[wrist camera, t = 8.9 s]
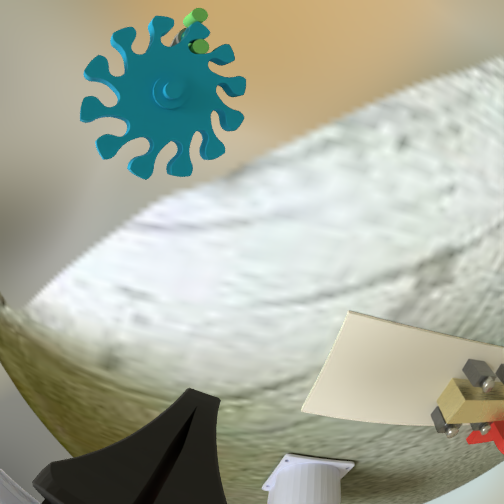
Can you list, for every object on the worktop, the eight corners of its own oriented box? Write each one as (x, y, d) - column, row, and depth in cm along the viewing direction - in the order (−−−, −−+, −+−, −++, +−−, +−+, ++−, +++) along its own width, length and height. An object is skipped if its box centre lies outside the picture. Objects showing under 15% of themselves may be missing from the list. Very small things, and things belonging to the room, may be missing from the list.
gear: (221, 201, 16) (50, 156, 10) (182, 189, 21) (56, 156, 14) (276, 47, 15) (142, -24, 8) (229, 64, 19) (120, 17, 13)
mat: (479, 422, 19) (480, 424, 19) (301, 408, 21) (301, 411, 21) (527, 351, 17) (528, 353, 16) (348, 310, 19) (349, 312, 18)
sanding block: (494, 402, 18) (505, 420, 15) (436, 401, 19) (446, 423, 16) (508, 382, 17) (521, 399, 14) (452, 377, 18) (465, 400, 15)
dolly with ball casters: (478, 414, 19) (489, 434, 15) (430, 414, 19) (440, 438, 16) (513, 364, 17) (528, 382, 14) (468, 358, 17) (485, 380, 14)
